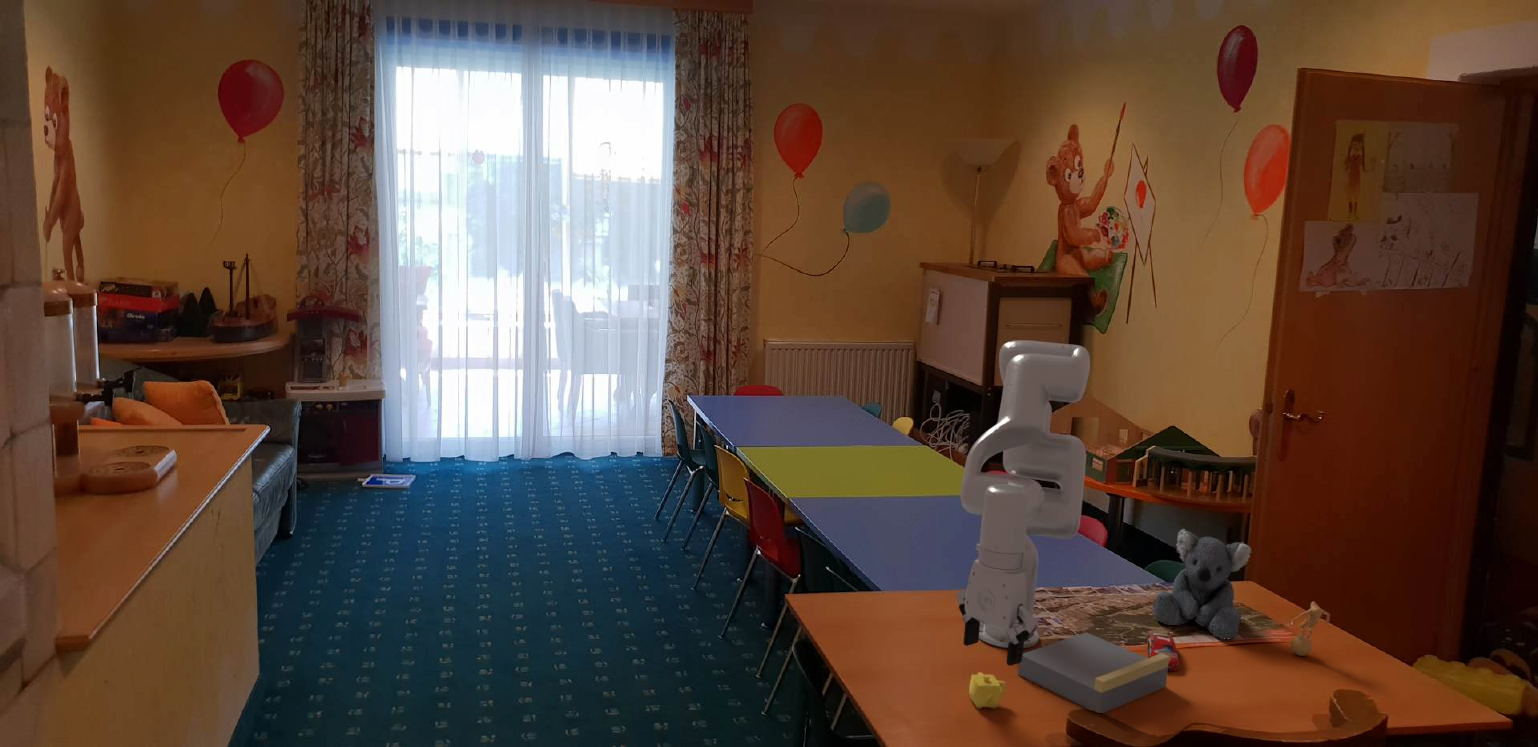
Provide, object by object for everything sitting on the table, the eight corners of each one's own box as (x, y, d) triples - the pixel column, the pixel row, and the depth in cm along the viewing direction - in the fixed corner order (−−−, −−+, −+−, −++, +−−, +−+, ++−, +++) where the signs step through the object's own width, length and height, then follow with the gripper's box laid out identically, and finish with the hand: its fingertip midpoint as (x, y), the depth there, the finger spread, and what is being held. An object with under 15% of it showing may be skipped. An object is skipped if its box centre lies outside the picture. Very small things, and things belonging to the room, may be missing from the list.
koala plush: (1148, 623, 231) (1158, 535, 227) (1167, 599, 246) (1177, 515, 242) (1235, 644, 222) (1247, 553, 218) (1249, 618, 237) (1261, 531, 233)
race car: (1178, 676, 206) (1181, 656, 205) (1148, 671, 208) (1151, 651, 207) (1175, 649, 218) (1177, 630, 218) (1146, 644, 220) (1148, 625, 219)
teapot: (1010, 715, 186) (1013, 687, 185) (978, 715, 186) (980, 687, 185) (996, 693, 194) (999, 666, 193) (965, 693, 193) (967, 666, 193)
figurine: (1312, 650, 221) (1320, 594, 219) (1331, 663, 215) (1340, 605, 213) (1275, 651, 219) (1282, 594, 217) (1293, 664, 214) (1301, 606, 211)
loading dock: (1017, 674, 202) (1020, 644, 201) (1084, 651, 214) (1087, 622, 213) (1099, 714, 188) (1102, 681, 187) (1165, 686, 200) (1169, 656, 199)
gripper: (948, 546, 190) (940, 640, 192) (1026, 575, 176) (1017, 676, 178) (977, 541, 194) (969, 632, 196) (1056, 569, 181) (1046, 667, 183)
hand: (991, 653), depth 187 cm, fingers open, 9 cm apart
